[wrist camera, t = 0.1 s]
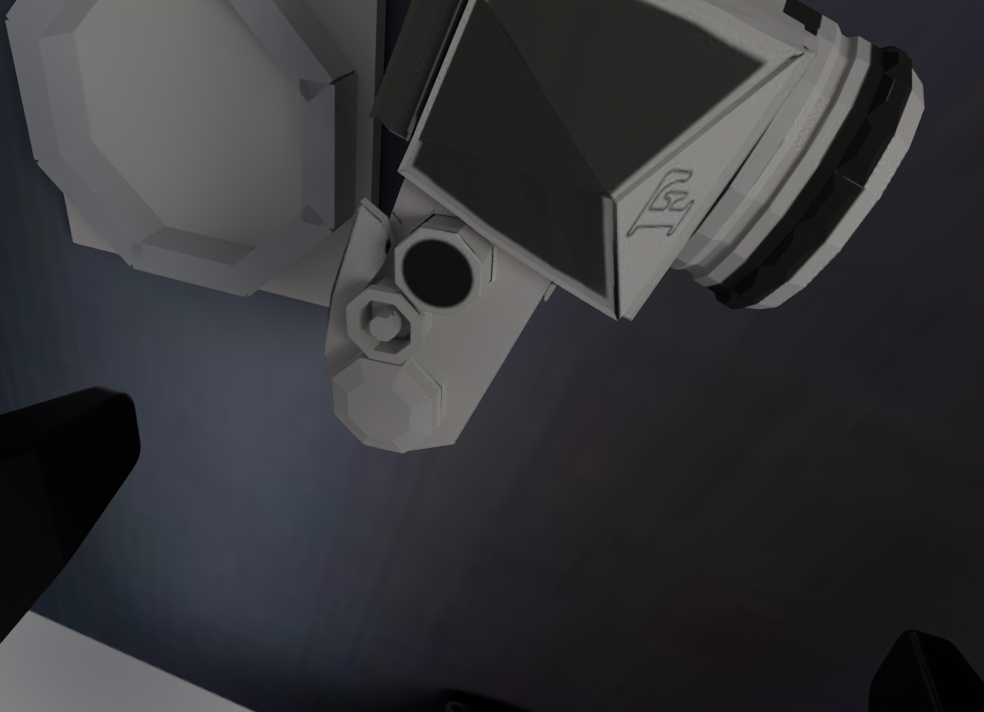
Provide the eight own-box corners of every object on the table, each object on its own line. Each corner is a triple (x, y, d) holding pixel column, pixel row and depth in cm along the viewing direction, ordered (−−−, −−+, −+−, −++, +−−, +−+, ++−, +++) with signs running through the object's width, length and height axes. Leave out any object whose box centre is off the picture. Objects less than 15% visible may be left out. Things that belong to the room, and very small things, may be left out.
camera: (628, 407, 25) (565, 664, 17) (393, 271, 25) (215, 463, 17) (1029, -119, 16) (1317, -120, 8) (663, -334, 16) (563, -563, 8)
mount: (375, 308, 26) (348, 337, 24) (85, 236, 28) (43, 258, 26) (388, -70, 20) (355, -66, 18) (18, -128, 22) (-42, -129, 20)
